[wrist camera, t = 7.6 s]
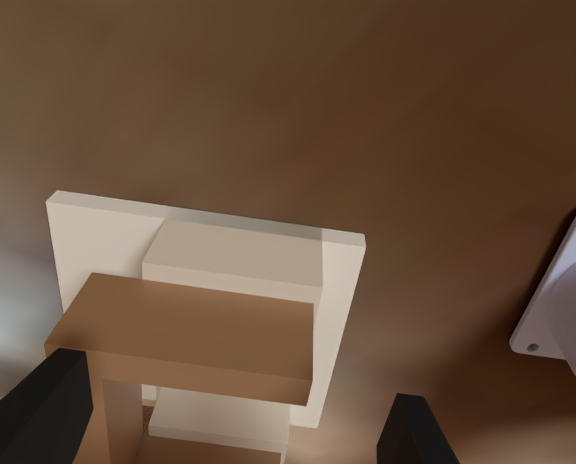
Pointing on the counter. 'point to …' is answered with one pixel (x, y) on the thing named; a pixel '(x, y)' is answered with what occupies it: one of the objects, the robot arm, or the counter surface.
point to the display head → (219, 276)
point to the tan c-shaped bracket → (180, 360)
